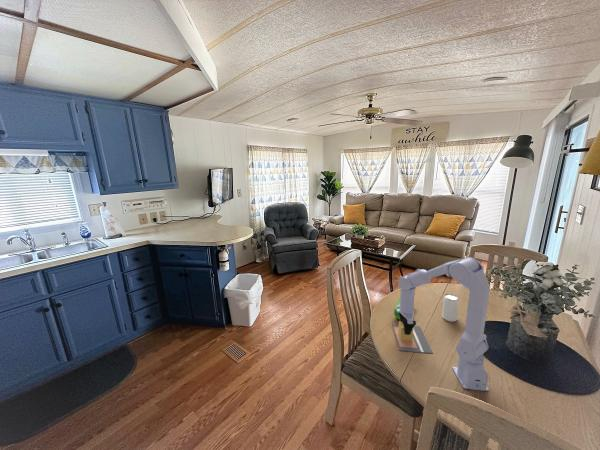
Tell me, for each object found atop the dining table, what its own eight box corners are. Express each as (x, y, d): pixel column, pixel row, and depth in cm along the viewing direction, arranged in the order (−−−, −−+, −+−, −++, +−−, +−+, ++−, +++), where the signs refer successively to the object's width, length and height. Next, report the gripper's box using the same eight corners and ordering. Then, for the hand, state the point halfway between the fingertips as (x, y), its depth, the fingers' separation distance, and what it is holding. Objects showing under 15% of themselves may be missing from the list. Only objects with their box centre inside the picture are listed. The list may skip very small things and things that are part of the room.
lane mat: (432, 353, 102) (432, 352, 102) (399, 350, 104) (399, 349, 104) (419, 326, 119) (419, 326, 119) (391, 324, 121) (391, 324, 121)
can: (459, 322, 121) (461, 300, 118) (444, 321, 122) (446, 299, 120) (453, 315, 127) (456, 294, 125) (440, 314, 129) (442, 293, 126)
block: (412, 340, 109) (413, 329, 108) (400, 340, 110) (401, 328, 109) (409, 333, 114) (410, 322, 113) (398, 332, 115) (398, 321, 113)
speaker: (408, 323, 122) (409, 309, 121) (392, 319, 126) (393, 305, 125) (413, 306, 137) (414, 294, 135) (399, 303, 141) (400, 291, 139)
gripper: (394, 293, 116) (392, 318, 119) (400, 309, 102) (399, 338, 105) (409, 293, 115) (408, 319, 117) (419, 310, 101) (417, 339, 103)
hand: (405, 328), depth 111 cm, fingers open, 7 cm apart
